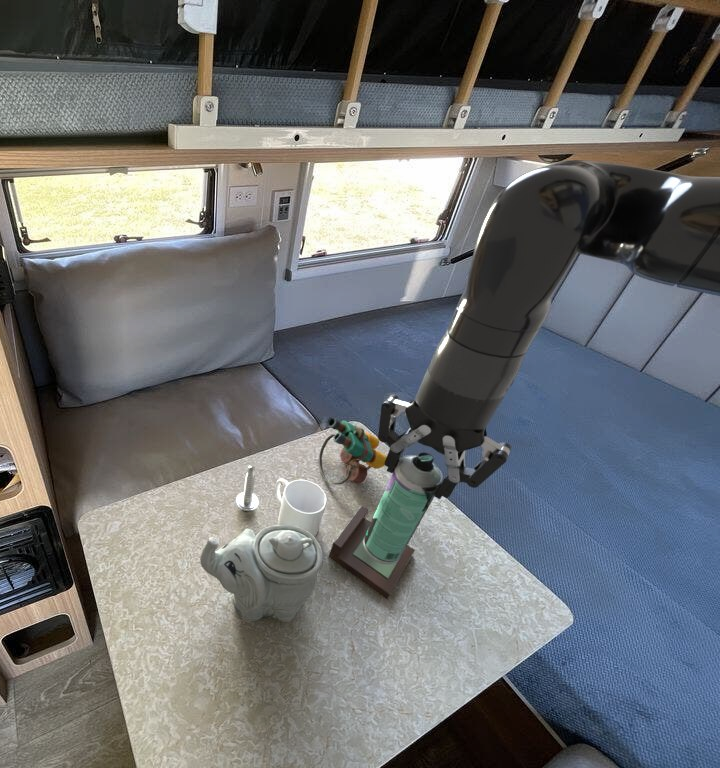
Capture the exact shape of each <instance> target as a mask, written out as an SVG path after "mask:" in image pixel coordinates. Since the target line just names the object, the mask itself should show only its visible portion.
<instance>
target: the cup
mask: <svg viewBox="0 0 720 768" xmlns="http://www.w3.org/2000/svg"><path fill="white" fill-rule="evenodd" d="M281 485H282V486H283V487H284V490H283V493H282V495H281V489H280V488H281ZM274 496H275V498H276V499H275V500H276V501H277V502H278V504H279V506H280V508H279V512H278V519H277V525H290V526H296V527H300V528H302V529H304V530H306V531H308V532H309V533H310V534H311V535H313V536H314V537H315V538H316V536H317V534H318V531H319V529H320V526H321V522H322V520H323V519H322V518H323V516H324V512H325V510H326V506H327V503H328V500H327V499H328V498H327V495H326V493H325V491H324V490H323V488H321V486H320V485H318V484H317V483H315V482H313V481H310V480H308V479H307V480H306V479H295V480H292V481H290V482H289V481H288V480H286V479H285V478H278V479H277V480H276V482H275V485H274Z"/></svg>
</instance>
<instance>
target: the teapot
mask: <svg viewBox="0 0 720 768" xmlns="http://www.w3.org/2000/svg"><path fill="white" fill-rule="evenodd" d="M218 547H219V541H218V539H217V538H216V537H213V536H210V537H209V538H208V539H207V542H206V544H205V546H204V548H203V549H202V551H201V554H200V559H199V560H200V565H201V567H202V569H203V570H204V571H205V572H206V573H207V574H209V575H210V576H212V577H214V579H216V580H217V581H218V582H219V583H220V585H221V587H222V588H223V589H224V590H226V591H227V592H228V593H231V594H232V595H233V597H234V598H233V599H234V601H233V602H234V603H233V606H234V609H235V610H236V612H237V613H238V614H239V616H240V617H242V618H243V619H245V620H247V621H250V622H257V621H259V620H261V619H262V618H263V617H266V616H267V617H268V616H269V617H271V618H273V619H275V620H277V621H279V622H282V623H288V622H291V621H292V620H293V619H294V618H295V617H296V615H297V612H298V611H299V610H300V609H301V608H302V607H303V605H304V604H305V602H306V601H307V600H308V599H309V598H310V597H311V595H312V594H313V592H314V589H315V588H316V583H317V580H318V574H319V573H320V571H321V569H322V566H323V560H324V559H323V550H322V547H321V546H320V543H319V542H318V540H317V538H316V536H315V537H314V536H313V535H311V534H310V533H309V532H308V531H306V530H304V529H302V528H300V527H296V526H290V525H278V524H276V525H275V524H274V525H269V526H266V527H264V528H262V529H261V530H260V531H259V532H258V533H257V534H256V533H255V531H253V530H252V529H251V528H246V529H244V530H243V531H242V532H241V533H240V534H239V535H238V536H237V537H236V538H234V539H232V540H231V541H230V542H228V543H226V544H224V545H222V546H221V547H220V548H219V549H218ZM217 549H218V550H217Z"/></svg>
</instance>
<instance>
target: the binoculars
mask: <svg viewBox="0 0 720 768" xmlns="http://www.w3.org/2000/svg"><path fill="white" fill-rule="evenodd" d="M327 426H328V427H329V428H330V429H333V430H336V431H337V432H336V433H332V434H329V436H328V437H326V439H325V440H324V442H323V443H322V445H321V447H320V451H319V455H318V464H319V465H318V466H319V469H320V473H321V475H322V477H323V478H324V479H325V481H326V482H328V483H330V484H332V485H336V486H337V485H339V486H340V485H344V484H345V483H347V482H348V481H350V482H352V483H354V484H356V485H361V484H363V483H364V482H365V481H366V479H367V477H368V471H369V470H371V468H372V469H375V470H376V469H381V468H383V467H384V466H385V460H386V457H387V455H386V454H384V453H382V452H380V451H379V450H377V448H378V447H379V445H380V440H379V439H378V437H376V436H374V435H373V434H370V433H369V432H365V429H364V428H363V427H360V426H357V425H354V424H352V423H350V422H348V421H346V420H342V421H340V420H339V419H337V418H336V417H332V416H331V417H329V418H327ZM331 439H332V442H334V443H336V444H338V445H341V446H343V447H342V448H341V451H340V455H339V456H340V457H339V458H340V462H342V463H343V464H344V465H346V469H345V474H346V477H345V478H344V479H343V480H341V481H340V482H332V481H329V479H328V478H327V476H326V474H325V472H324V467H323V453H324V450H325V448H326V447H327V445H328V442H329V441H330V440H331ZM360 462H362V463H365V464H366V465H367V466H366V465H365V464H362V463H360Z"/></svg>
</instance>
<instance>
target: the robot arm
mask: <svg viewBox="0 0 720 768" xmlns="http://www.w3.org/2000/svg"><path fill="white" fill-rule="evenodd" d="M577 255H583V256H588V257H592V258H596V259H601V260H605V261H609V262H613V263H617V264H621V265H623V266H625V267H626V268H628V270H629V271H630V272H631V273H632V274H634V275H635V276H637V277H639V278H642V279H644V280H647V281H651V282H654V283H657V284H662V285H665V286H668V287H669V286H670V287H676V288H679V289H683V290H684V289H685V290H689V291H693V292H697V293H702V294H707V295H712V296H717V297H720V176H692V175H684V174H680V173H679V174H678V173H674V172H669V171H662V170H657V169H651V168H647V167H646V168H645V167H639V166H633V165H626V164H619V163H612V162H606V161H605V162H603V161H596V160H583V159H581V160H580V159H573V160H572V159H571V160H563V161H557V162H554V163H550V164H548V165H545V166H541V167H538V168H535V169H532V170H530V171H528V172H526V173H523V174H521V175H519V176H518V177H517V178H515V179H514V180H512V181H511V182H510V183H509V184H508V185H506V186H504V188H503V189H502V191H500V192H499V194H498V195H497V197H496V198H495V199H494V201H493V203H492V204H491V206H490V208H489V210H488V211H487V213H486V216H485V217H484V220H483V222H482V224H481V227H480V229H479V233H478V235H477V239H476V242H475V246H474V249H473V254H472V258H471V262H470V267H469V269H468V275H467V281H466V285H465V288H464V291H463V293H462V295H461V297H460V298H459V301H458V303H457V304H456V307H455V310H454V312H453V315H452V317H451V319H450V322H449V324H448V325H447V327H446V328H447V329H446V330H445V333H444V334H443V336H442V338H441V339H440V341H439V343H438V344H437V346H436V347H435V348H436V349H435V351H434V352H433V354H432V357H431V359H430V362H429V364H428V367H427V369H426V370H425V371H426V372H425V374H424V376H423V378H422V381H421V383H420V386H419V388H418V389H417V390H418V391H417V393H416V395H415V398H414V399H413V400H410V402H407V401H405V400H400V398H399V396H398V395H396V394H394V393H393V394H390V395H389V396H388V397H386V399H385V400H384V402H383V403H382V404H381V407H380V416H379V423H378V424H379V425H378V433H377V438H378V439H379V442H381V443H386V444H387V445H388V447H389V450H388V453H387V455H386V456H387V457H386V460H385V465H384V466H385V467H386V472H388V473H390V474H392V473H393V471H394V469H395V467H396V465H397V463H398V462H399V460H400V459H401V458H402V457H403V454H404V452H405V450H406V448H409V447H411V446H412V445H414V444H415V443H416V442H417V443H418V444H421V445H422V446H424V447H429V448H432V449H433V450H434V451H436V452H437V453H439V454H441V455H444V462H445V466H446V467H447V468H446V469H447V473H446V474H445V476H444V478H443V479H442V482H441V485H440V487H439V489H438V491H437V493H436V494H435V496H434V498H436V499H437V500H441V499H442V497H443V498H445V499H448V498H450V497H451V495H452V494H453V491H454V490H455V488H456V486H457V485H458V484H459V483H464V484H466V485H467V486H468V487H470V488H473V489H475V488H478V487H479V486H480V485H481V484H483V483H484V482H486V480H487V479H489V477H491V476H492V475H493V474H494V473H495V472H497V470H499V469H500V468H501V467H502V466H503V465H505V464H506V462H507V460H508V458H509V455H510V454H511V450H512V446H511V444H510V443H508V442H504V441H503V442H498V441H495V440H494V439H492V438H490V437H489V436H488V434H487V427H488V425H489V424H490V422H491V420H492V418H493V417H494V414H495V413H496V412H497V410H498V408H499V406H500V405H501V403H502V401H503V400H504V398H505V396H506V394H507V393H508V390H510V388H511V386H513V384H514V382H515V379H516V377H517V375H518V373H519V371H520V369H521V367H522V364H523V360H524V358H525V357H526V354H527V352H528V350H529V349H530V347H531V345H532V343H533V341H535V338H536V336H537V335H538V332H539V331H540V330H541V328H542V326H543V325H544V322H545V320H546V318H547V317H548V314H549V311H550V309H551V307H552V296H553V295H554V293H555V291H556V290H557V288H558V287H559V285H560V283H561V282H562V280H563V278H564V276H565V275H566V273H567V272H568V270H569V268H570V266H571V265H572V263H573V262H574V260H575V258H576V256H577ZM402 413H405V417H406V420H407V422H408V425H409V427H408V428H407V429H405V431H403V432H402V433H400V434H399V433H397V432H396V423H397V418H399V417H400V415H401V414H402ZM479 447H480V448H481V449H482V452H481V457H482V459H481V460H480V461H479V462H478V463H477V464H476V465H475V466H474V467H473V468H472V467H468V466H466V458H465V457H466V452H467V451H468V450H472V449H476V448H479Z"/></svg>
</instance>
